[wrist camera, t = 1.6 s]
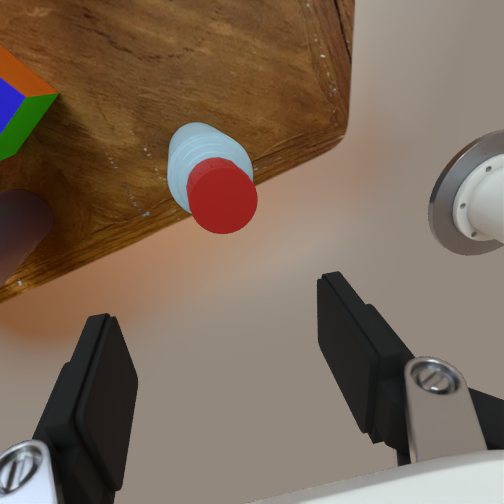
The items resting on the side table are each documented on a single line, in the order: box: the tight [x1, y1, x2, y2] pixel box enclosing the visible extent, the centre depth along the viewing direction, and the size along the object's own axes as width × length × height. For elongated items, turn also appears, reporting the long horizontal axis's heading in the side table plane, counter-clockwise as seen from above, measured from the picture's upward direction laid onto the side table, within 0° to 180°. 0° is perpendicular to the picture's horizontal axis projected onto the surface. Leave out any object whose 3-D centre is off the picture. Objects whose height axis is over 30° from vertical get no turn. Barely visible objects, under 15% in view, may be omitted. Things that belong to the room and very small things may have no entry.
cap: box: [186, 157, 257, 234], centre depth 21 cm, size 4×4×4 cm
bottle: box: [167, 122, 253, 214], centre depth 29 cm, size 6×6×20 cm
